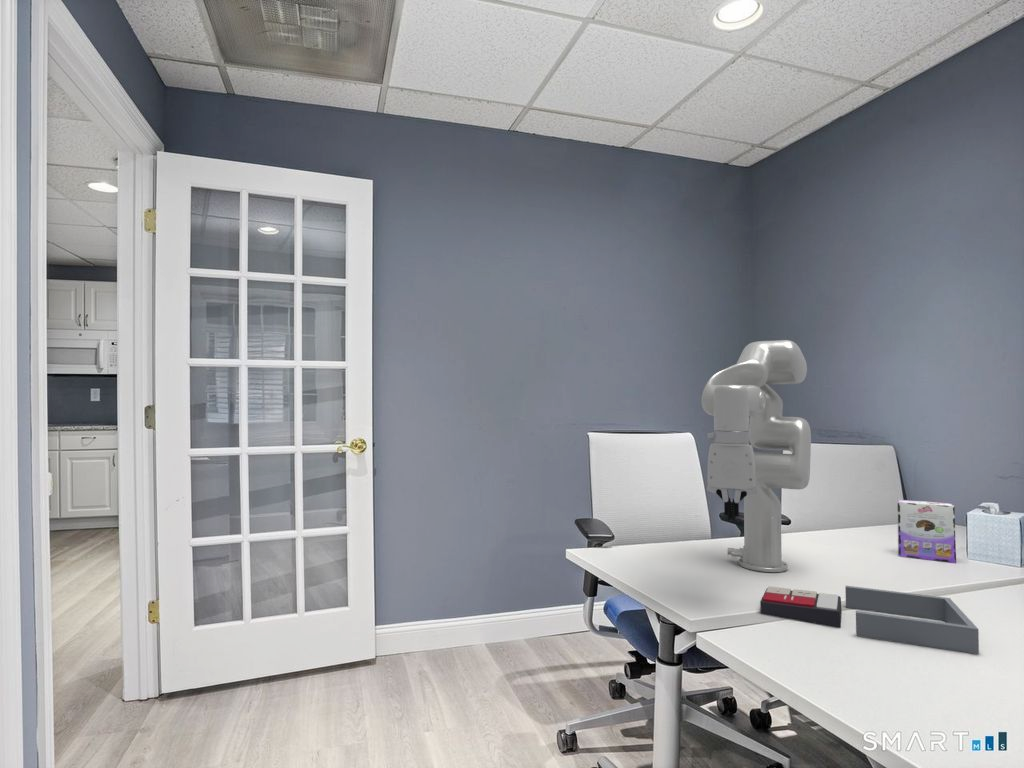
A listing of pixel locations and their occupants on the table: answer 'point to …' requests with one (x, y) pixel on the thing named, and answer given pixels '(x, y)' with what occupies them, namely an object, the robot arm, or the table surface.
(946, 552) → the candy box
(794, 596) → the dark long red-fronted box
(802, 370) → the robot arm
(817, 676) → the table surface
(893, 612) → the box
